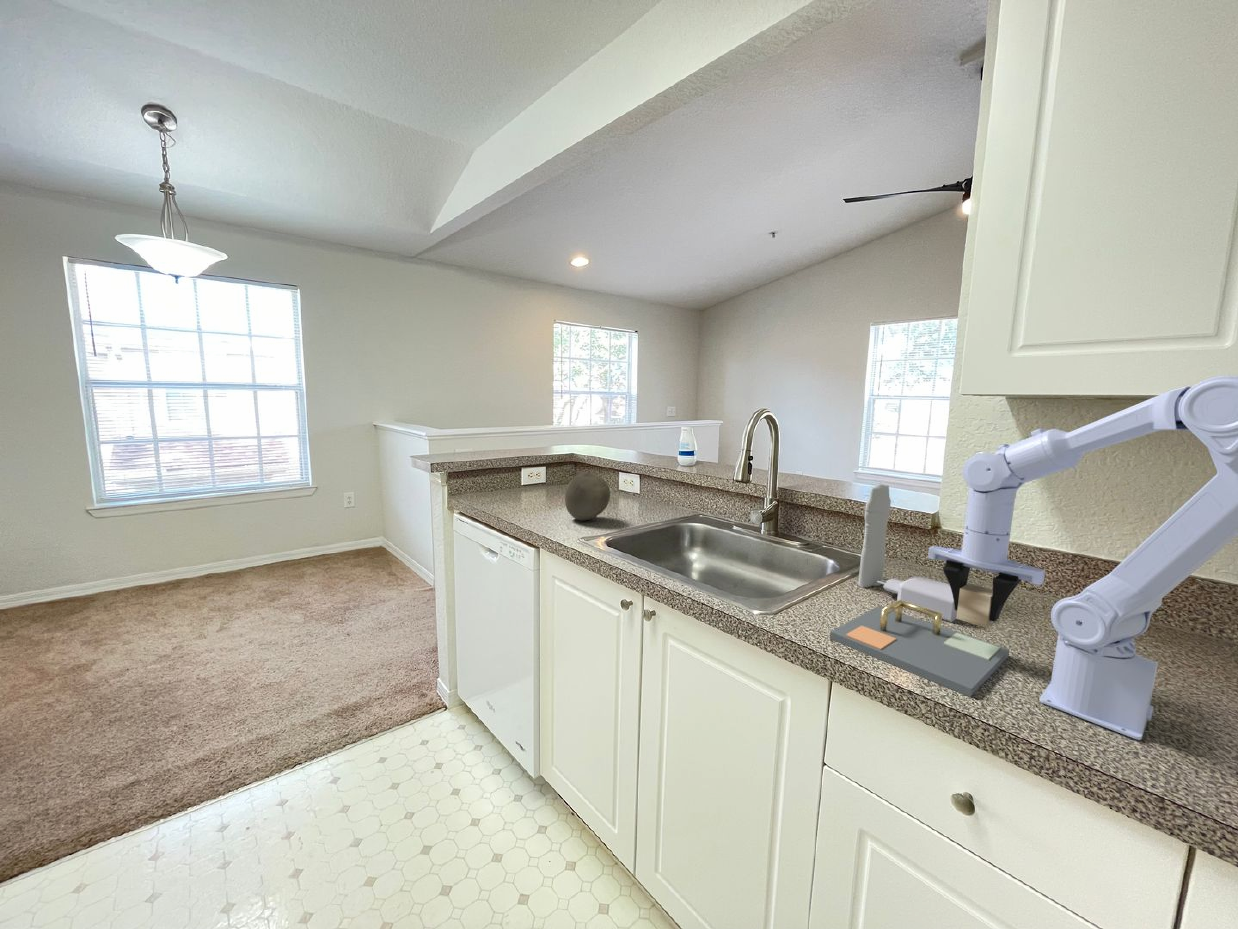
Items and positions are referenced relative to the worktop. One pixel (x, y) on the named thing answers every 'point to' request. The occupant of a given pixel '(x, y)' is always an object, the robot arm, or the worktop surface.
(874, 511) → the grey tall flat piece
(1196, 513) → the robot arm
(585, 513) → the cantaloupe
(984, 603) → the block
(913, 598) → the charger
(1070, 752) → the worktop surface
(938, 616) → the brass corner pipe rail
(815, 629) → the worktop surface
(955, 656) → the board
